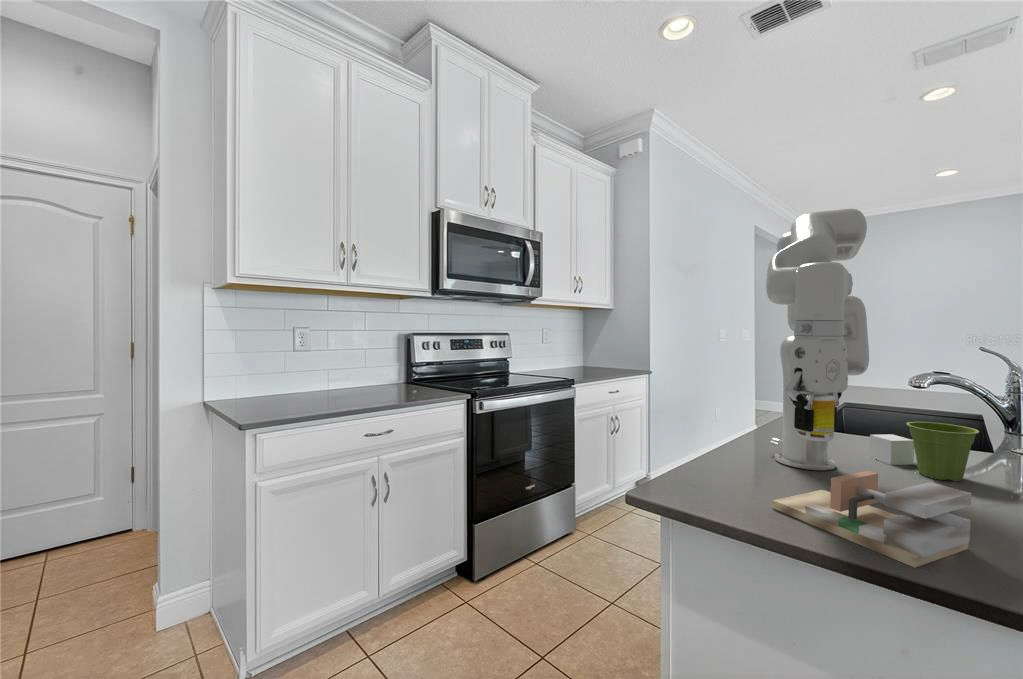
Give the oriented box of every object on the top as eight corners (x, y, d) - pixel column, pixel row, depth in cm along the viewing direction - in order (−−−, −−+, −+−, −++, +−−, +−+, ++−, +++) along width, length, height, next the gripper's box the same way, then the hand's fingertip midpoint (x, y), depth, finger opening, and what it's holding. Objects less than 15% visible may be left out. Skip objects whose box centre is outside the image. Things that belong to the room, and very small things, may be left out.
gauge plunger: (826, 509, 76) (827, 478, 76) (866, 499, 80) (867, 470, 80) (936, 551, 62) (938, 513, 62) (978, 536, 66) (980, 501, 66)
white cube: (869, 457, 116) (870, 434, 115) (891, 457, 116) (892, 434, 116) (890, 465, 110) (891, 440, 109) (913, 464, 110) (914, 440, 110)
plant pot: (974, 475, 102) (976, 426, 101) (980, 490, 93) (982, 436, 93) (904, 464, 110) (906, 418, 109) (904, 476, 101) (906, 427, 100)
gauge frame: (772, 508, 84) (773, 460, 84) (821, 497, 89) (823, 452, 89) (919, 569, 63) (921, 506, 63) (972, 550, 68) (975, 492, 68)
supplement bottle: (840, 439, 82) (842, 384, 82) (822, 443, 80) (823, 386, 79) (808, 433, 87) (810, 380, 87) (790, 436, 85) (792, 382, 84)
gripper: (806, 332, 76) (803, 438, 77) (869, 330, 82) (866, 428, 83) (766, 330, 83) (764, 428, 84) (827, 329, 89) (824, 420, 90)
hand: (815, 427), depth 83 cm, fingers closed on supplement bottle, 5 cm apart
